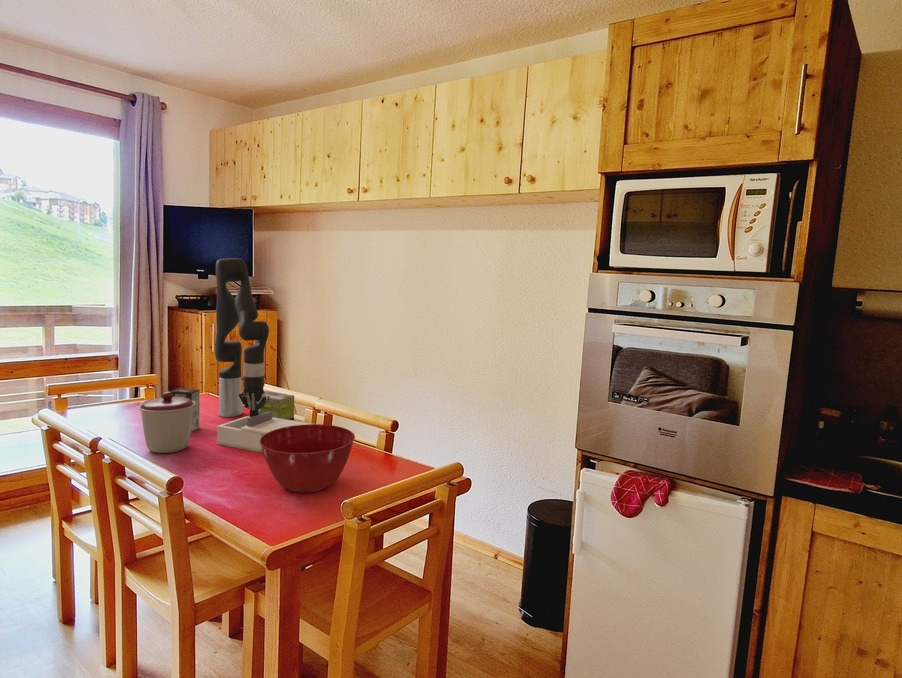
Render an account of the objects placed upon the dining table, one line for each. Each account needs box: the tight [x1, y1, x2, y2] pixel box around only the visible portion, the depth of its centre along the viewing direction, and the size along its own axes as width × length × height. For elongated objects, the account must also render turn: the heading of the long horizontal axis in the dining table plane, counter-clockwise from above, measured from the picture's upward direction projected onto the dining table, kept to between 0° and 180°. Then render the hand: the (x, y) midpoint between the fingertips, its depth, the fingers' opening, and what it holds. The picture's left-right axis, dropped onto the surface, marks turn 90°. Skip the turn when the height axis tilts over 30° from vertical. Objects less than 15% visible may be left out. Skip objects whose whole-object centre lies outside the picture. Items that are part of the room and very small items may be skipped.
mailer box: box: [216, 415, 265, 453], centre depth 208 cm, size 20×16×7 cm
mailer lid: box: [241, 411, 312, 434], centre depth 203 cm, size 21×17×4 cm
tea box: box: [258, 390, 295, 421], centre depth 225 cm, size 15×10×15 cm
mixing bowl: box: [260, 423, 356, 494], centre depth 169 cm, size 28×28×16 cm
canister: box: [138, 391, 196, 454], centre depth 196 cm, size 18×18×21 cm
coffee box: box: [170, 387, 201, 433], centre depth 220 cm, size 9×6×16 cm
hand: (253, 419), depth 207 cm, fingers closed
